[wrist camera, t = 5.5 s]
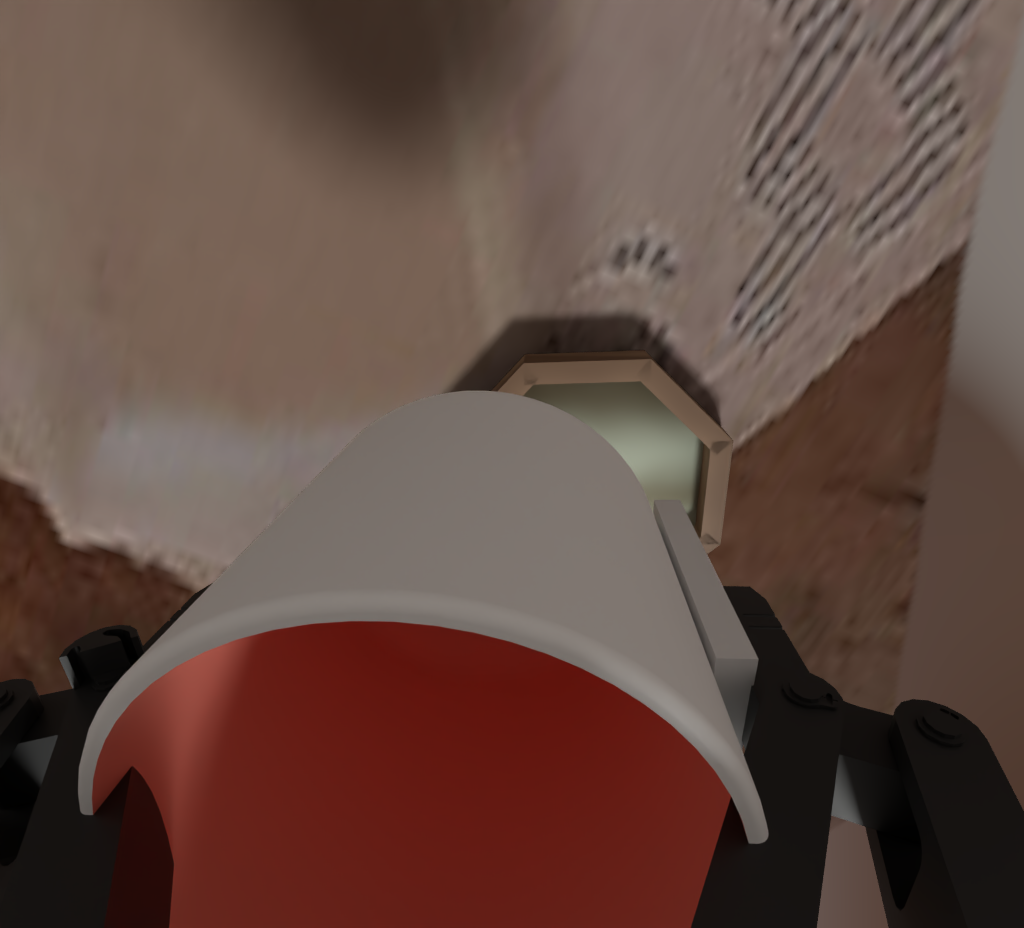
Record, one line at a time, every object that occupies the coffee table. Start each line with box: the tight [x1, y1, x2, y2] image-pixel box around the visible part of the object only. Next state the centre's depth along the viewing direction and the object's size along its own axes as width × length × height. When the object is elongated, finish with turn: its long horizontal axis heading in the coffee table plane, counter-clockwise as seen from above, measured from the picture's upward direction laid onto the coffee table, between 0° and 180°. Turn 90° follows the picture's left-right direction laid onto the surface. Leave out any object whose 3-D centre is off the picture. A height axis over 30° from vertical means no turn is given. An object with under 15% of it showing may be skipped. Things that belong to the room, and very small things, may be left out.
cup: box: [78, 391, 769, 928], centre depth 12 cm, size 10×10×10 cm
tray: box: [491, 350, 733, 554], centre depth 33 cm, size 16×16×2 cm
